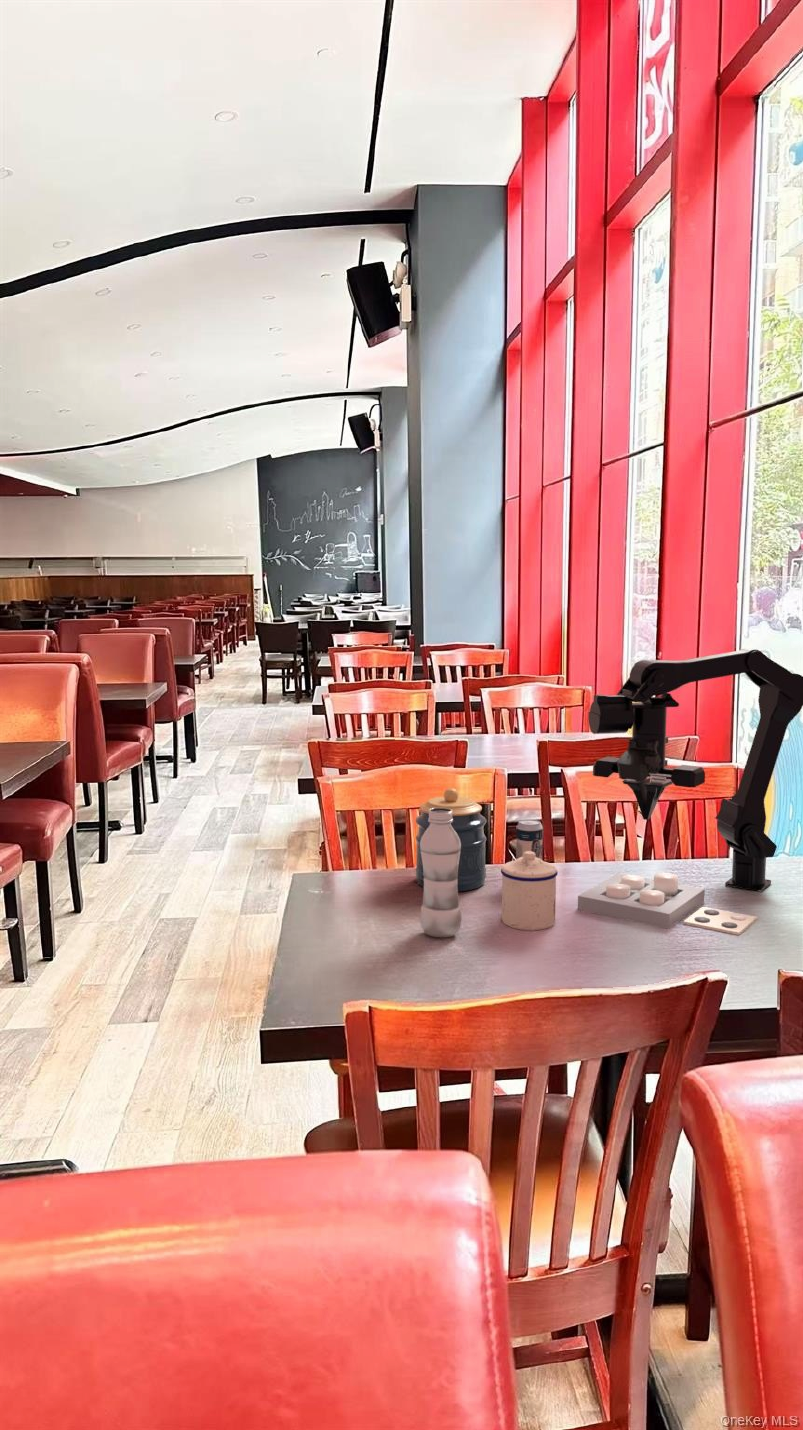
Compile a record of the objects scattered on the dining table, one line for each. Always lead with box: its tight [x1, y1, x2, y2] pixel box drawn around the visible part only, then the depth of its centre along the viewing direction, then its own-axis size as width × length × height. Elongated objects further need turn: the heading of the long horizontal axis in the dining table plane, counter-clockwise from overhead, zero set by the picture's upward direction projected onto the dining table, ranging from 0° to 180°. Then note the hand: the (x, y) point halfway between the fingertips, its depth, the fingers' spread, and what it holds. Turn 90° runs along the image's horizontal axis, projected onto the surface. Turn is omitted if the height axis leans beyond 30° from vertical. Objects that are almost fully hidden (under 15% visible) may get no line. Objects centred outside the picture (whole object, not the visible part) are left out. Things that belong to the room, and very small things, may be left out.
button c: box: [606, 883, 630, 899], centre depth 168 cm, size 4×4×3 cm
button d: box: [639, 890, 665, 906], centre depth 165 cm, size 4×4×3 cm
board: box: [577, 873, 706, 929], centre depth 169 cm, size 16×16×2 cm
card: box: [682, 906, 758, 936], centre depth 161 cm, size 9×9×1 cm
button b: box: [653, 872, 679, 897], centre depth 170 cm, size 4×4×3 cm
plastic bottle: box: [419, 808, 463, 938], centre depth 155 cm, size 6×7×20 cm
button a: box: [621, 874, 645, 891], centre depth 173 cm, size 4×4×3 cm
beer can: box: [515, 819, 544, 860], centre depth 180 cm, size 5×5×12 cm
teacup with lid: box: [500, 851, 559, 931], centre depth 162 cm, size 12×9×12 cm
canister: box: [415, 787, 487, 892], centre depth 182 cm, size 13×13×18 cm
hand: (646, 819), depth 176 cm, fingers closed
